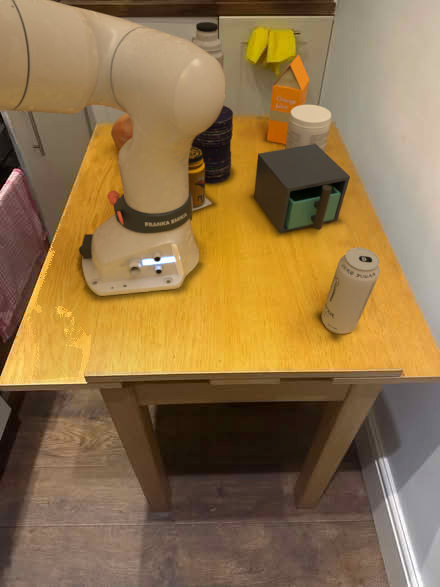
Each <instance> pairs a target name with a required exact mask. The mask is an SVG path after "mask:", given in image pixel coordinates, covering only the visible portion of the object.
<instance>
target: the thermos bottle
mask: <svg viewBox="0 0 440 587" xmlns="http://www.w3.org/2000/svg"><path fill="white" fill-rule="evenodd" d="M195 28H196V32H195V38H194V39H193V40H192V43H194V44H195V45H197V46H198V47H200V48H201V49H203V50H204V51H206V52H207V53H208V54H210V55H211V56H213V57H214V58H215V59H216V60H217V61H218V62H219V63H220V65H221V67H222V69H223V70H224V59H225V58H224V56H225V53H224V51H223V50H222V48H223V47H222V41H221V40H220V39H219V38H218V30H219V25H218V24H217V23H215V22H211V21H203V22H198V23H196V24H195Z"/></svg>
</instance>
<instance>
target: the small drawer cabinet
mask: <svg viewBox="0 0 440 587" xmlns="http://www.w3.org/2000/svg"><path fill="white" fill-rule="evenodd" d="M350 179H351V176H350V175H349V174H348V173H347V172H346V170H344V169H343V168H342V167H341V166H340V165H339V164H338V163H337V162H336V161H334V159H332V157H330V156H329V154H327V152H326V151H325V152H324V151H323V150H322V149H321V148H320V147H319V146H318V145H316V144H312V145H306V146H300V147H294V148H288V149H285V148H283V149H277V150H272V151H266V152H259V153H258V154H257V162H256V172H255V181H254V182H255V183H254V192H253V198H254V200H255V201H256V202H257V204H258V205H259V206H260V208H261V209H262V211H263V212H264V214H265V215H266V216H267V218H268V219H269V221H270V222H271V223H272V225H273V226H274V227H275V229H276V230H277V232H278V233H279V234H284V233H289V232H294V231H297V230H302V229H306V228H312V227H313V224H310V225H306V226H301V227H297V228H292V229H287V227H286V226H285V219H286V213H287V208H288V202H289V196H290V191H295V190H300V189H305V188H310V187H315V186H320V185H325V184H330V183H331V184H332V185H333V186H334V187H335V188H336V189H337V190H338V191H339V192H340V193H341V195H340V199H339V202H338V206H337V209H336V213H335V216H334V219H333V220H328V221H324V222H323V224H322V225H325V224H329V223H333V222H337V221H338V220H339V216H340V213H341V209H342V206H343V203H344V199H345V196H346V192H347V188H348V185H349V182H350Z"/></svg>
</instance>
